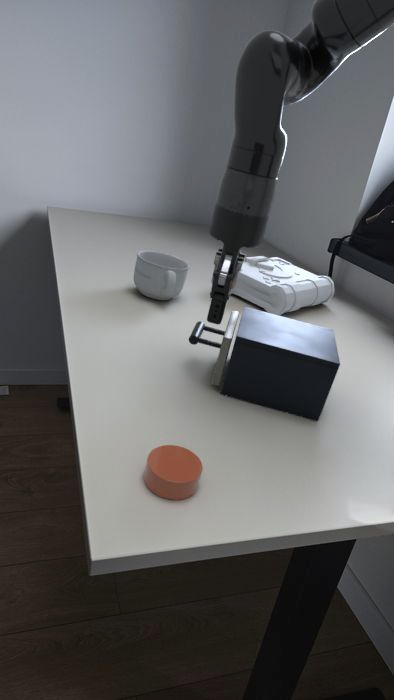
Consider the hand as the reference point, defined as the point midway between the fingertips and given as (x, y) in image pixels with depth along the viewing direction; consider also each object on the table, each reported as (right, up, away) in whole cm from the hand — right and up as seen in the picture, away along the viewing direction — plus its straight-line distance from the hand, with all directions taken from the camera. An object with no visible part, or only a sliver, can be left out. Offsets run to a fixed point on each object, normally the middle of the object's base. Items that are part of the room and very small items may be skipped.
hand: (214, 321), depth 74 cm
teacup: (-11, +6, +27) cm, 30 cm away
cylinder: (-5, -18, -21) cm, 28 cm away
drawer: (+5, -8, +3) cm, 10 cm away
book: (+17, +9, +45) cm, 49 cm away
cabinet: (+9, -10, +3) cm, 14 cm away
